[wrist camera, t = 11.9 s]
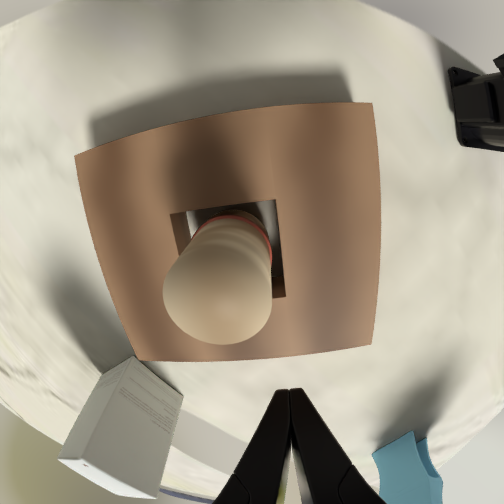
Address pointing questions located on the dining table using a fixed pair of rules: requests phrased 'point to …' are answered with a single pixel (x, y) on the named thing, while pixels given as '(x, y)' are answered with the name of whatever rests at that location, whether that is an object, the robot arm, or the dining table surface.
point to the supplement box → (124, 431)
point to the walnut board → (235, 192)
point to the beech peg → (222, 280)
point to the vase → (408, 472)
